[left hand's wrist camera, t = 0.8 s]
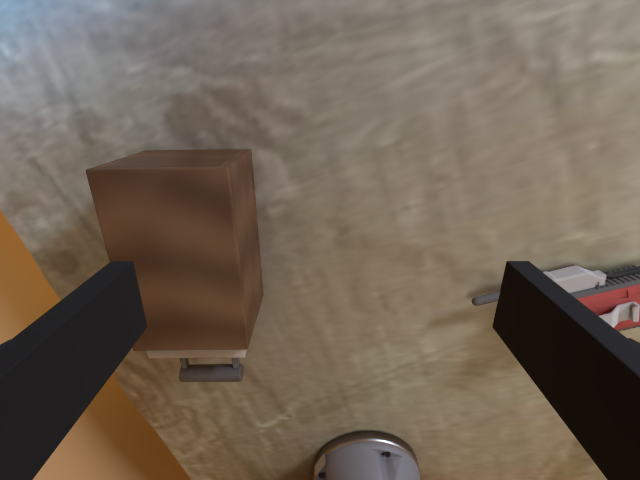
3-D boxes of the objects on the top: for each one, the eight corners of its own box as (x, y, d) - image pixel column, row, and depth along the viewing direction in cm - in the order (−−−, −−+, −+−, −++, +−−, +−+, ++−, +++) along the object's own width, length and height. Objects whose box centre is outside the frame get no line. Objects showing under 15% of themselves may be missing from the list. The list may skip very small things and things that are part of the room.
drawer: (261, 350, 43) (250, 401, 36) (185, 351, 43) (159, 402, 36) (245, 180, 35) (226, 202, 28) (152, 182, 35) (109, 204, 28)
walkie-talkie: (650, 242, 38) (466, 288, 41) (690, 260, 34) (482, 309, 36) (646, 308, 42) (475, 347, 44) (681, 331, 37) (491, 373, 40)
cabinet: (263, 294, 41) (247, 350, 32) (173, 295, 41) (133, 351, 32) (251, 149, 35) (227, 167, 26) (145, 150, 35) (84, 169, 26)
